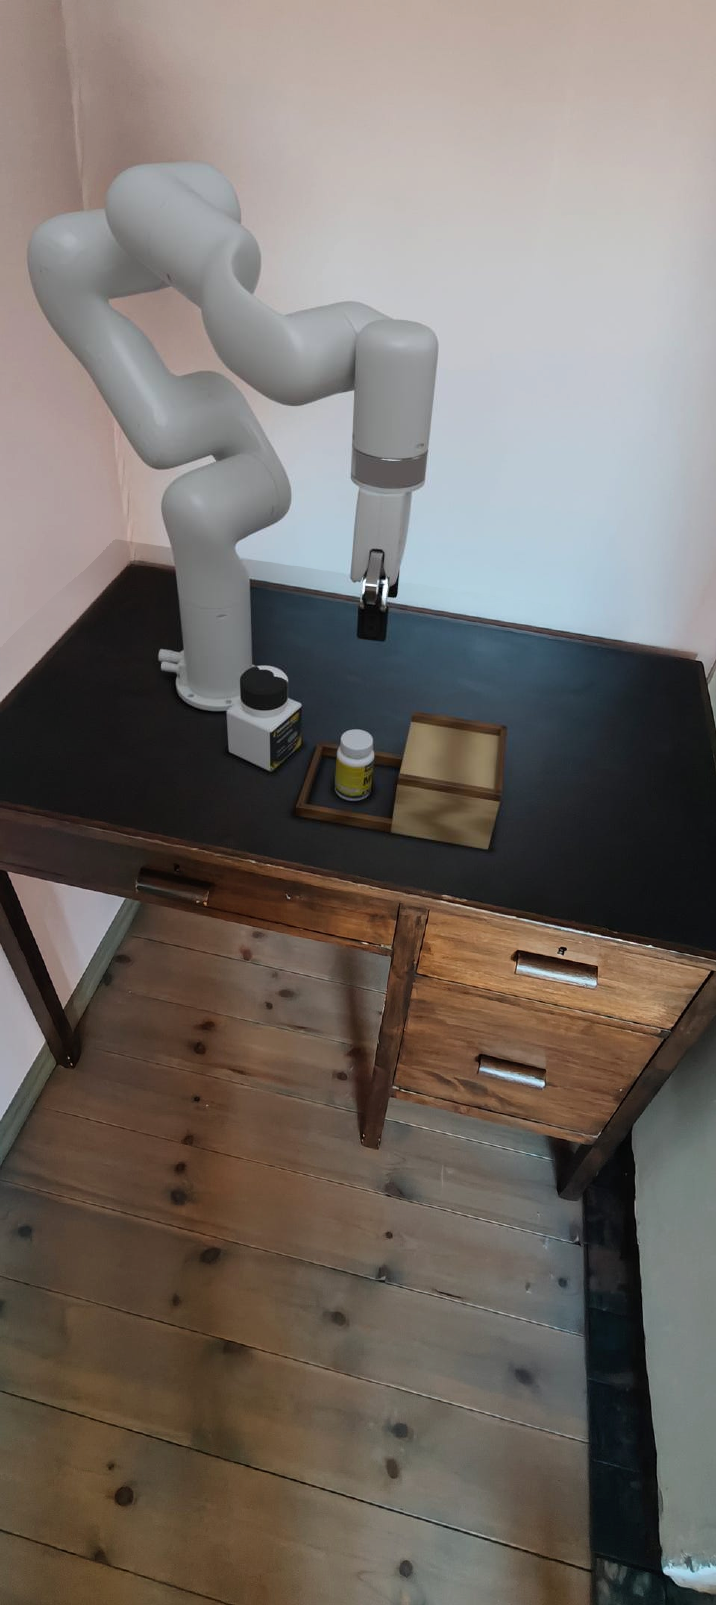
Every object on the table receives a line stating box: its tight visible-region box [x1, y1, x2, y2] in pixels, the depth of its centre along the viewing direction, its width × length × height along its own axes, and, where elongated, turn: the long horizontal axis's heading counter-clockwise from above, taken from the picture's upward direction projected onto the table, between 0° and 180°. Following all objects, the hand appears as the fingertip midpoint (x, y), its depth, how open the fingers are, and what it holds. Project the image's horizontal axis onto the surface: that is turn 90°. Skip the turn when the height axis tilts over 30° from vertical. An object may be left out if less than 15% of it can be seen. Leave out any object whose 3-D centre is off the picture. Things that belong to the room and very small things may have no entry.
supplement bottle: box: [334, 729, 375, 802], centre depth 104 cm, size 5×5×8 cm
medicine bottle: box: [226, 665, 303, 772], centre depth 108 cm, size 7×7×12 cm
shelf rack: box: [295, 710, 508, 850], centre depth 103 cm, size 24×13×9 cm, turn 79°
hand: (377, 616), depth 94 cm, fingers open, 9 cm apart
